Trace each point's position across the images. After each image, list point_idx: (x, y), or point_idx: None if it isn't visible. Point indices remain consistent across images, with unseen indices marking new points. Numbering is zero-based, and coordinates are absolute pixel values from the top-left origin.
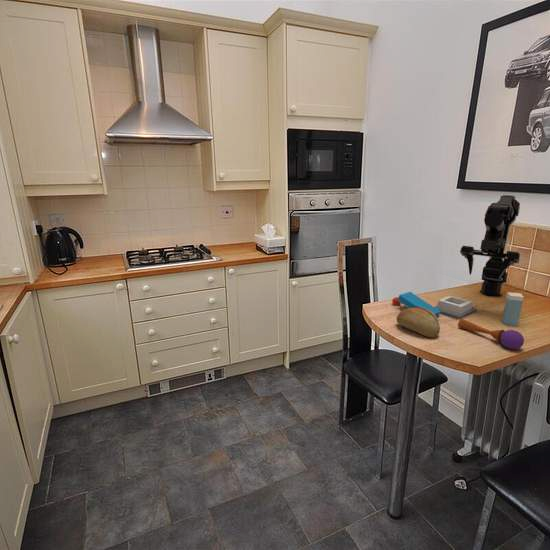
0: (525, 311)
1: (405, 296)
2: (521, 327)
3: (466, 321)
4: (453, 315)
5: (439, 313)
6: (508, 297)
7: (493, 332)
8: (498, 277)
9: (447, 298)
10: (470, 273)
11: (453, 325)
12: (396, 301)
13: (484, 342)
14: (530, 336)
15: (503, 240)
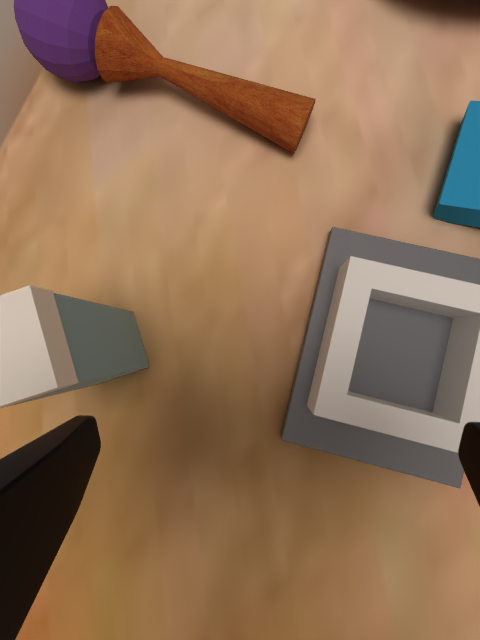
0: (57, 608)
1: None
2: None
3: (279, 97)
4: (367, 235)
5: (438, 201)
6: (55, 319)
7: (143, 35)
8: (81, 418)
9: (474, 372)
10: (474, 424)
11: (335, 140)
12: None
13: (181, 40)
14: (25, 237)
15: None
